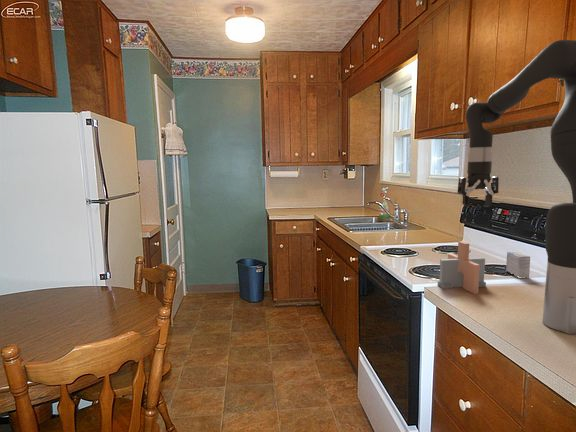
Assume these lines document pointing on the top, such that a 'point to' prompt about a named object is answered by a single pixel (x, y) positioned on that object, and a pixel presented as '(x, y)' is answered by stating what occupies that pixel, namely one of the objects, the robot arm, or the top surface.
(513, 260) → the medicine box
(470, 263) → the terracotta plate
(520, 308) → the top surface
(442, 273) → the grey notched panel
